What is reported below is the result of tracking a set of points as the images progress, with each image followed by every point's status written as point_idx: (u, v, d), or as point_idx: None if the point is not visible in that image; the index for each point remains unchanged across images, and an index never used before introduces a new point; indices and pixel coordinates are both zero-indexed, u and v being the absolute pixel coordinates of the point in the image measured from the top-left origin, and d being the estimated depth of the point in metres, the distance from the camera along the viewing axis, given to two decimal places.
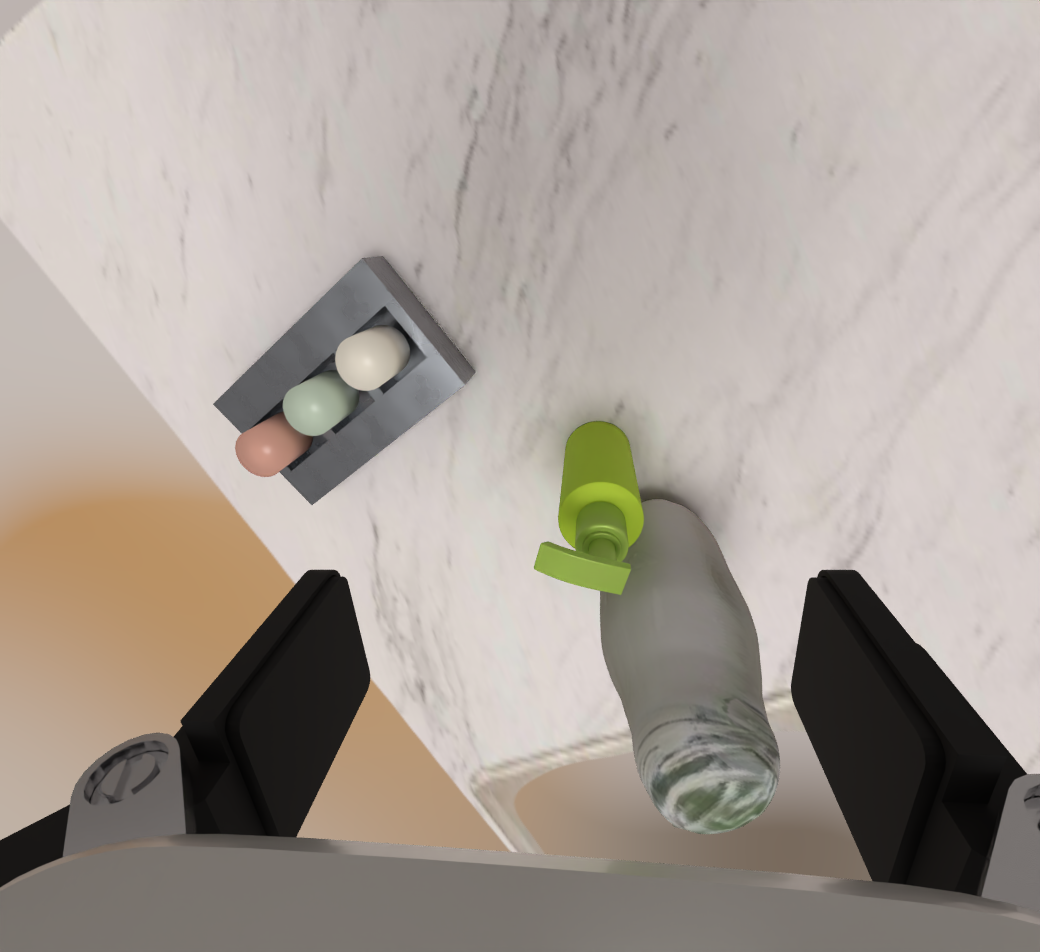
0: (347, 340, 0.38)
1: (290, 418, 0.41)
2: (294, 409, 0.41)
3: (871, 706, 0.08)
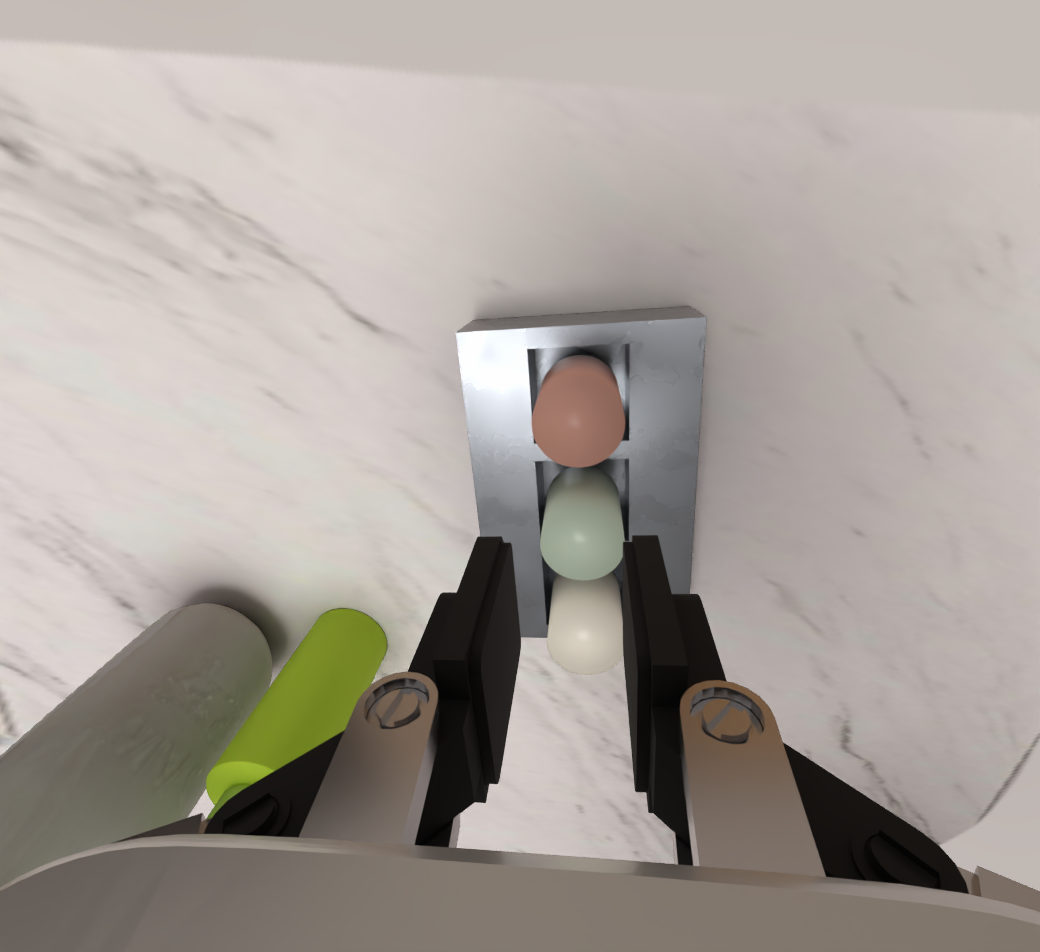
0: (621, 650, 0.28)
1: (590, 514, 0.25)
2: (597, 530, 0.25)
3: (631, 640, 0.09)
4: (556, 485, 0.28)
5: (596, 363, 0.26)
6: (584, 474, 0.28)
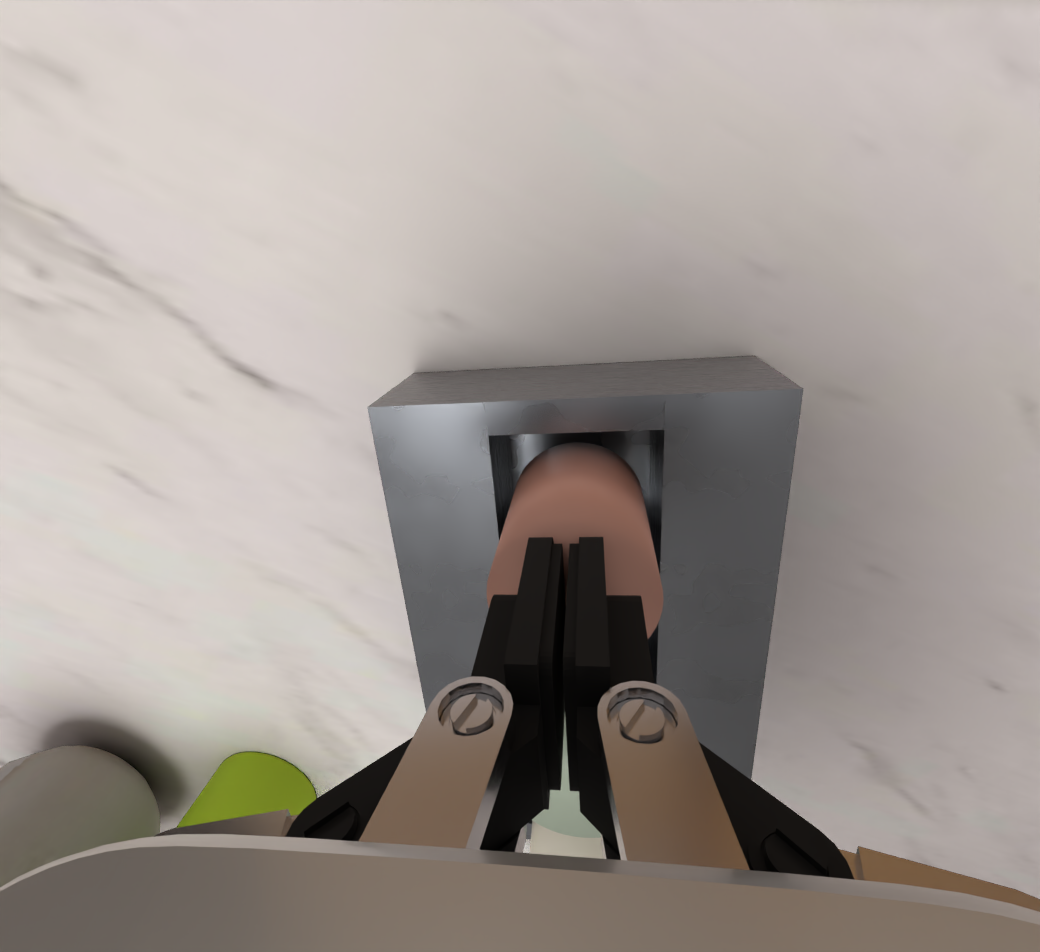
0: None
1: None
2: None
3: None
4: None
5: (606, 464, 0.15)
6: None
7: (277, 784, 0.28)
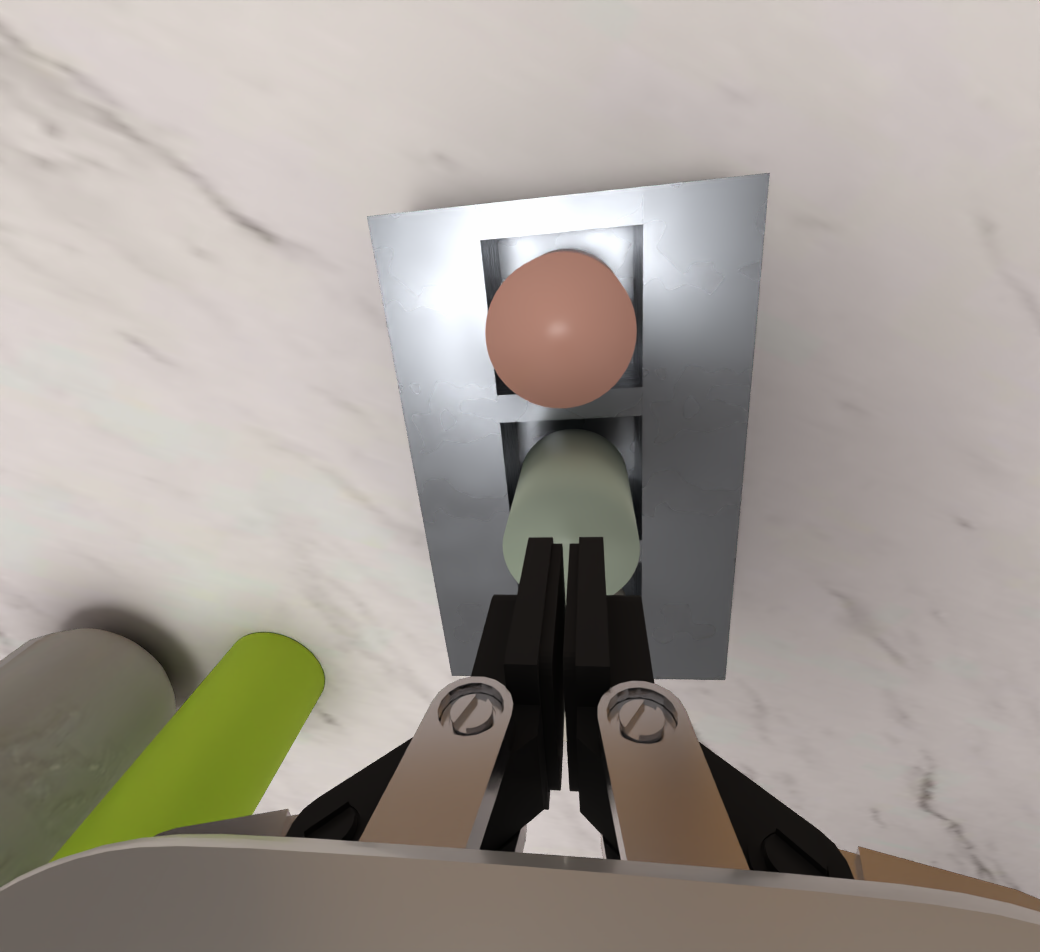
0: None
1: (583, 500, 0.15)
2: (594, 525, 0.15)
3: None
4: (532, 458, 0.19)
5: (589, 254, 0.17)
6: (574, 440, 0.18)
7: (287, 658, 0.30)
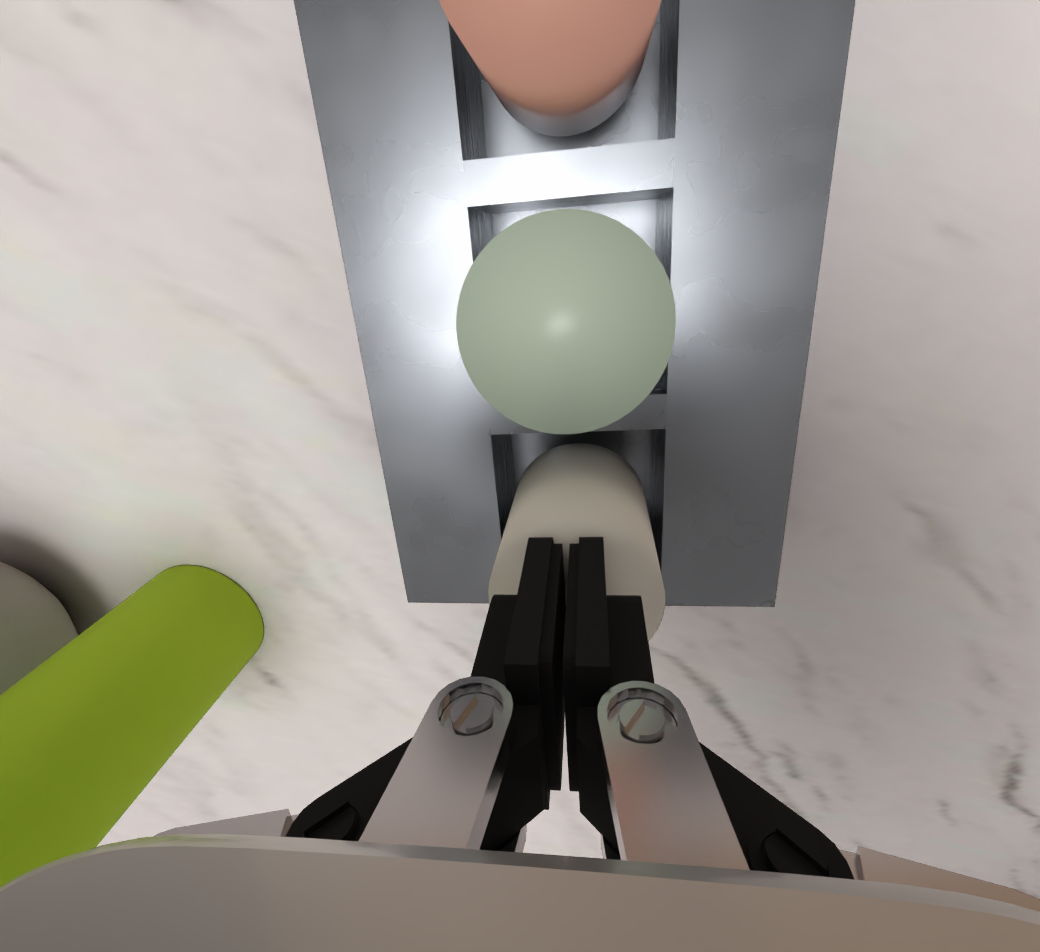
0: (656, 613, 0.12)
1: (585, 231, 0.09)
2: (603, 281, 0.09)
3: None
4: None
5: None
6: None
7: (212, 594, 0.24)
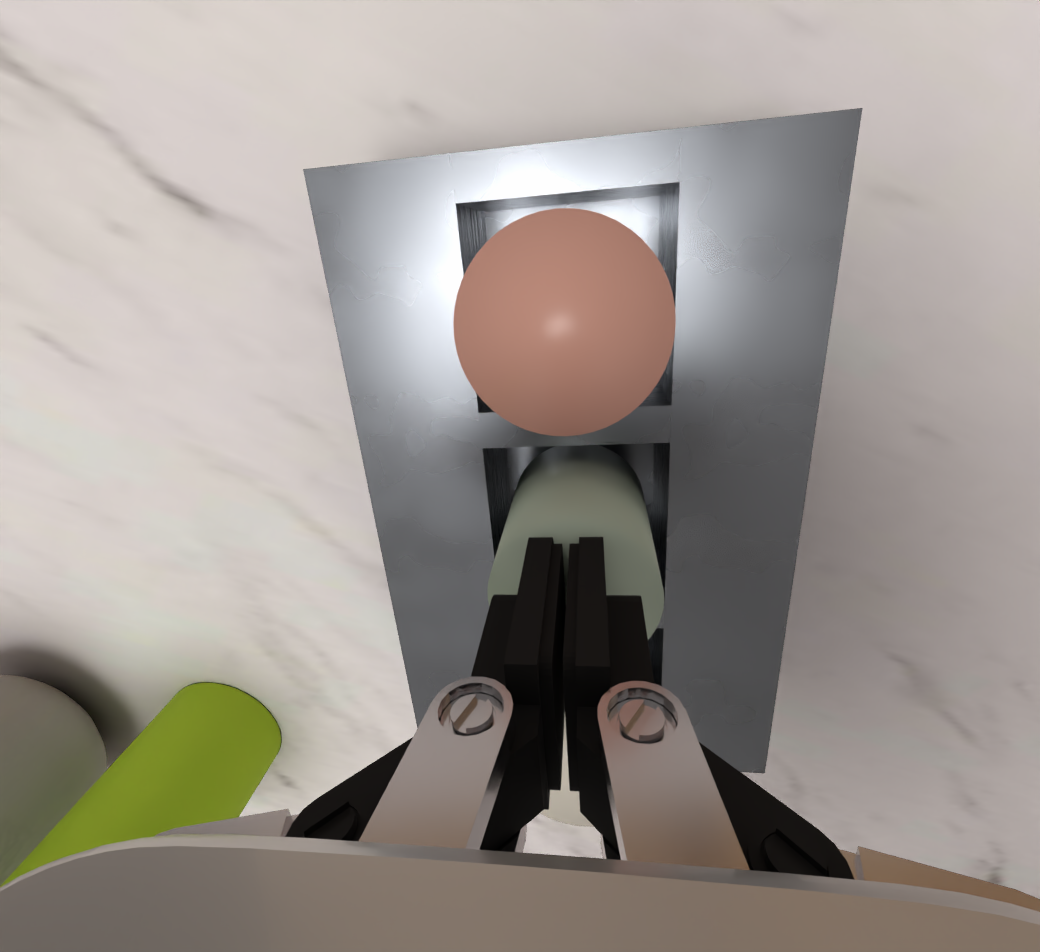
0: None
1: None
2: (606, 570, 0.12)
3: None
4: (528, 478, 0.15)
5: None
6: (580, 457, 0.15)
7: (234, 716, 0.25)
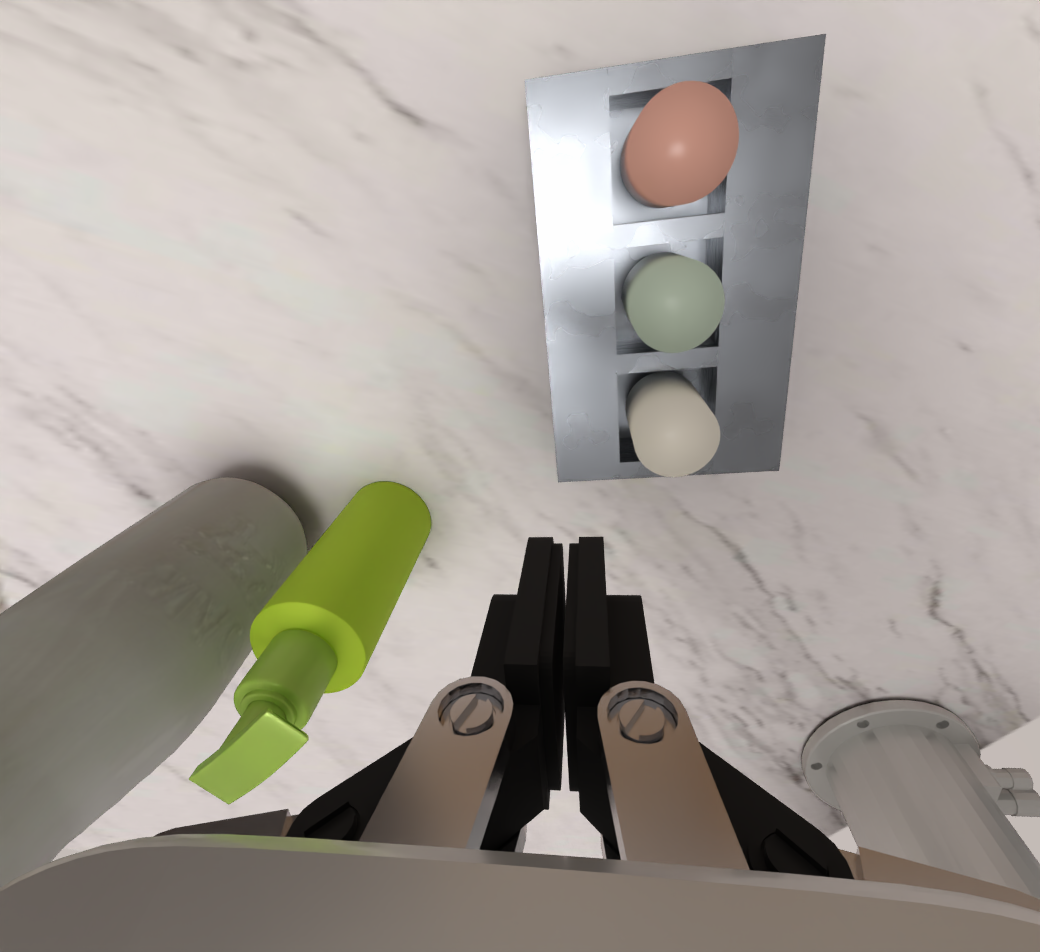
0: (715, 443, 0.25)
1: (688, 266, 0.23)
2: (695, 286, 0.23)
3: None
4: (637, 268, 0.26)
5: None
6: (667, 253, 0.26)
7: (405, 498, 0.36)
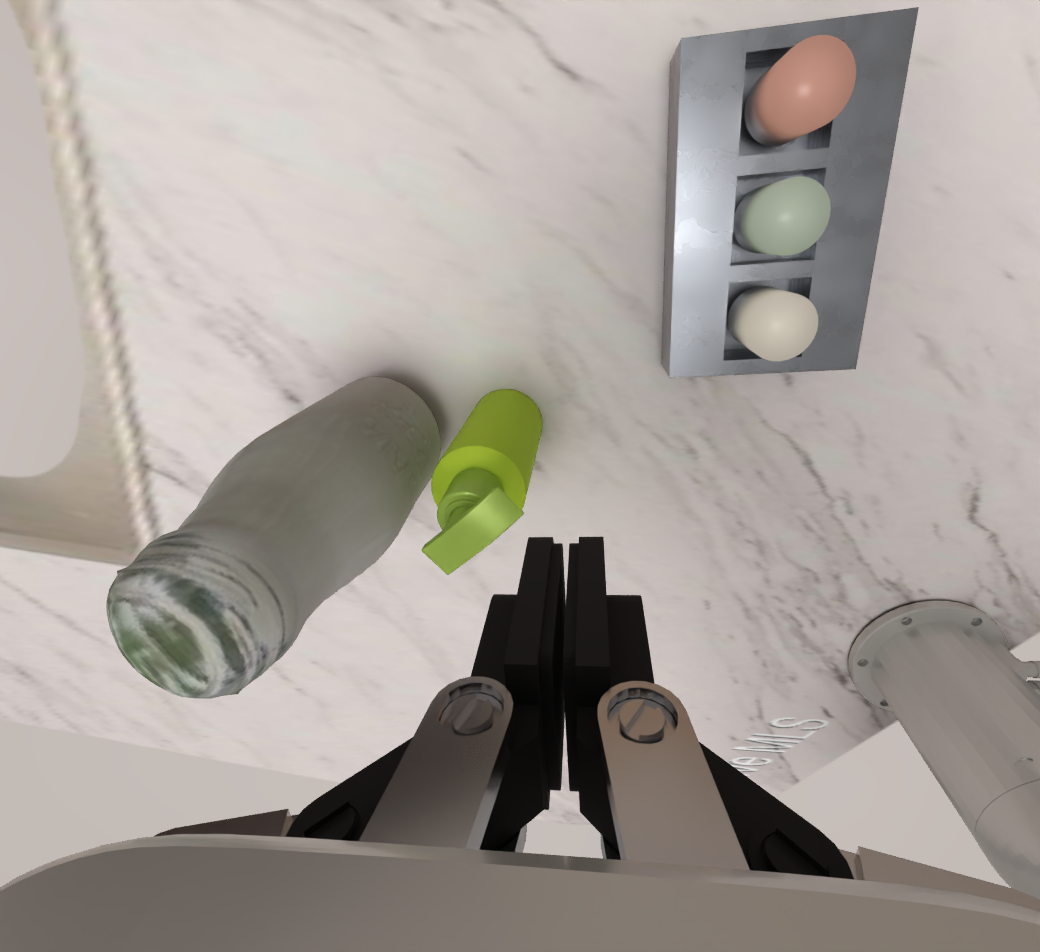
0: (814, 331, 0.32)
1: (804, 183, 0.29)
2: (808, 199, 0.30)
3: None
4: (751, 194, 0.33)
5: None
6: None
7: (526, 401, 0.42)
